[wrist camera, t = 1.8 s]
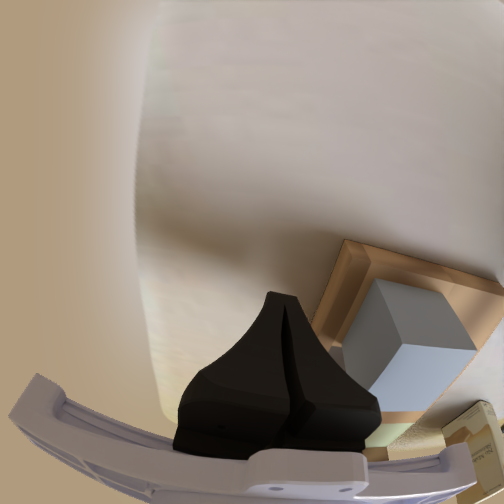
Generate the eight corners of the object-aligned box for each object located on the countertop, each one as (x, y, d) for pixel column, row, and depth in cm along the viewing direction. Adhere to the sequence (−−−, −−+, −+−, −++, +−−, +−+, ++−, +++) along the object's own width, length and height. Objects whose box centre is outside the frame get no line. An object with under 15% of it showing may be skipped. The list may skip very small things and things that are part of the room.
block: (442, 293, 13) (478, 350, 9) (405, 352, 15) (425, 410, 11) (374, 277, 13) (402, 343, 9) (341, 343, 15) (351, 410, 11)
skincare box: (479, 398, 21) (508, 485, 10) (492, 402, 21) (518, 480, 11) (438, 429, 24) (456, 513, 13) (454, 431, 24) (472, 507, 13)
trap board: (499, 283, 14) (535, 327, 10) (379, 435, 24) (384, 474, 19) (344, 239, 14) (367, 296, 10) (260, 427, 24) (255, 472, 19)
